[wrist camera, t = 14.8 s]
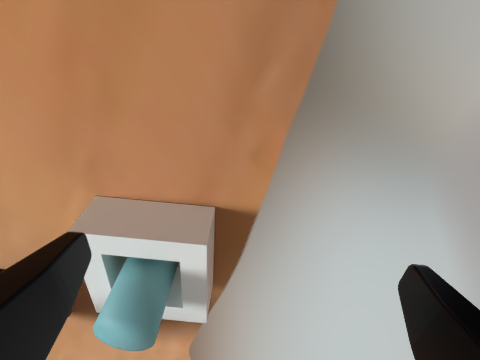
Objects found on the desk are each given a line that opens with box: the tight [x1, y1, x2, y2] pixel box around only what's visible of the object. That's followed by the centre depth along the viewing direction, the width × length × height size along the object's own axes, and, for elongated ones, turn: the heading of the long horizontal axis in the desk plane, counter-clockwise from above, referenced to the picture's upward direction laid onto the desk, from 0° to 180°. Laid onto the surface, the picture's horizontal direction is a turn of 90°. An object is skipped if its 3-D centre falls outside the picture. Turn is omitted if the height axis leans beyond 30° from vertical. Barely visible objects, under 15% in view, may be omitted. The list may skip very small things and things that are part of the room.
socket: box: [68, 196, 215, 323], centre depth 24 cm, size 9×9×4 cm
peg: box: [93, 257, 179, 351], centre depth 22 cm, size 4×4×8 cm
